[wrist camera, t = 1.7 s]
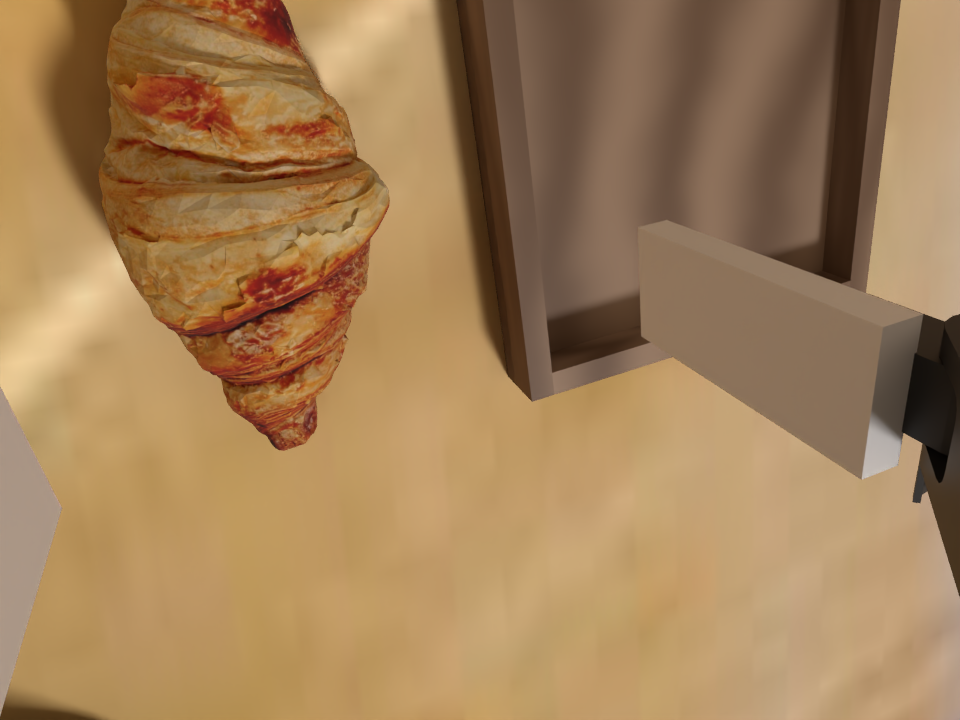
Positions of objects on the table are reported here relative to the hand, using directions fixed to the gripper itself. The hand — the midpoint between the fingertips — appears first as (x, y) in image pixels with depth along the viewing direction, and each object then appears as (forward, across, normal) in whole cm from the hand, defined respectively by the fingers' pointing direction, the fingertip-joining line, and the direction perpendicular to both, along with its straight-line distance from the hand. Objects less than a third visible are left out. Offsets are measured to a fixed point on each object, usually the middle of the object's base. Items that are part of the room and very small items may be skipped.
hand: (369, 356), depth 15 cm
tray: (+17, +19, +4) cm, 26 cm away
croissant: (+17, -1, +1) cm, 17 cm away
